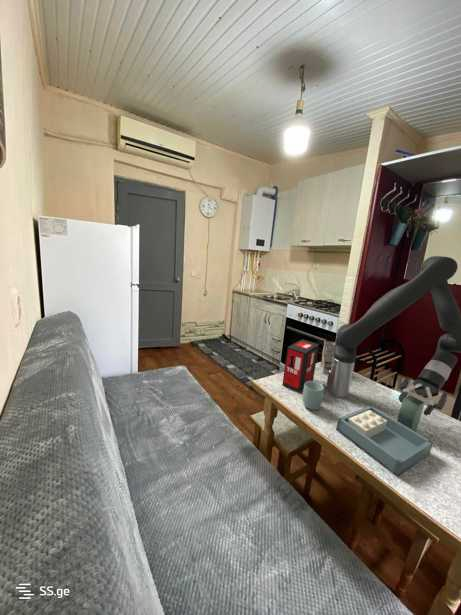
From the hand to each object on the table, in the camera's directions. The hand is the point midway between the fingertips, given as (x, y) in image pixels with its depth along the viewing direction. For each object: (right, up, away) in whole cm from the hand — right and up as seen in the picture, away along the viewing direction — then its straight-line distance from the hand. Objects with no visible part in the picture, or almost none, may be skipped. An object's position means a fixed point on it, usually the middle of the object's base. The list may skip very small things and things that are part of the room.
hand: (412, 407), depth 96 cm
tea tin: (-1, -10, +2) cm, 10 cm away
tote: (-15, -10, -5) cm, 19 cm away
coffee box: (-14, +2, +47) cm, 49 cm away
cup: (-35, -5, +12) cm, 37 cm away
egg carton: (-18, -9, 0) cm, 20 cm away
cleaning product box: (-35, 0, +31) cm, 47 cm away
